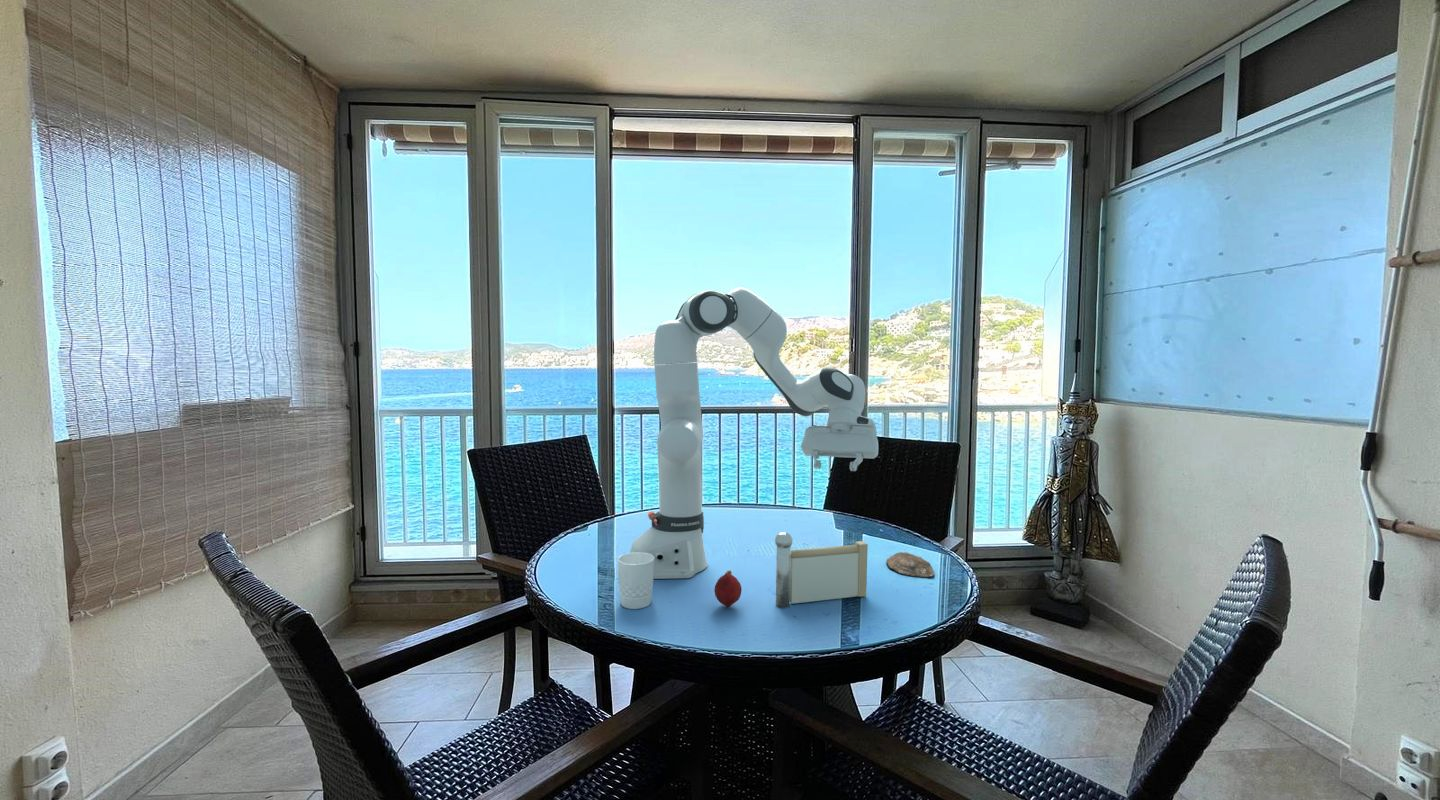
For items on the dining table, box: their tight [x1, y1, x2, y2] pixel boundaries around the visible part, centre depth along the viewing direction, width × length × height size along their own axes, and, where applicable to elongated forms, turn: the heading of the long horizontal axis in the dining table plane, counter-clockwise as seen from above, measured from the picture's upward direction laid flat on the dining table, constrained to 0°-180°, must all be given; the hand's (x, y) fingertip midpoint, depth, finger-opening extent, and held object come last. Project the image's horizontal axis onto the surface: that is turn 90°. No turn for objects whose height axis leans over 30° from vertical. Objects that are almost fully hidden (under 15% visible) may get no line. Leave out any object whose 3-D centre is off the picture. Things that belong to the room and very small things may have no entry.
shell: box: [885, 551, 935, 579], centre depth 143 cm, size 12×13×4 cm
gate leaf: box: [790, 540, 869, 604], centre depth 122 cm, size 18×2×12 cm, turn 106°
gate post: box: [774, 531, 793, 609], centre depth 119 cm, size 4×4×16 cm
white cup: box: [617, 552, 654, 610], centre depth 120 cm, size 8×8×10 cm
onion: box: [713, 570, 742, 608], centre depth 118 cm, size 6×6×8 cm
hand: (834, 468), depth 141 cm, fingers open, 8 cm apart
